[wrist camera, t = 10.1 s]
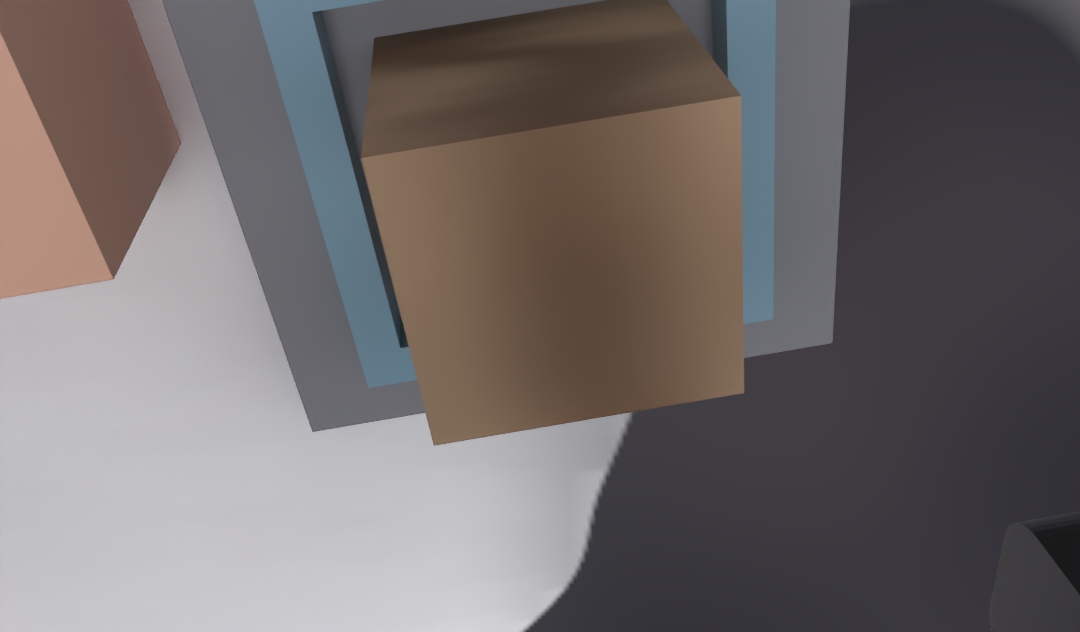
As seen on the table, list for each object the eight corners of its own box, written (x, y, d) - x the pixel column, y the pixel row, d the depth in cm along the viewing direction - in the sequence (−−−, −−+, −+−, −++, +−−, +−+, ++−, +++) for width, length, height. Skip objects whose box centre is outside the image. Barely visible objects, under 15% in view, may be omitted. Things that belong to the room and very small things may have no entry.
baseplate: (315, 408, 26) (308, 462, 24) (125, -153, 18) (93, -134, 17) (819, 322, 26) (849, 369, 25) (843, -267, 19) (890, -261, 17)
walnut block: (429, 281, 23) (433, 446, 18) (374, 37, 20) (361, 157, 15) (674, 240, 23) (744, 392, 18) (660, -9, 20) (741, 95, 15)
